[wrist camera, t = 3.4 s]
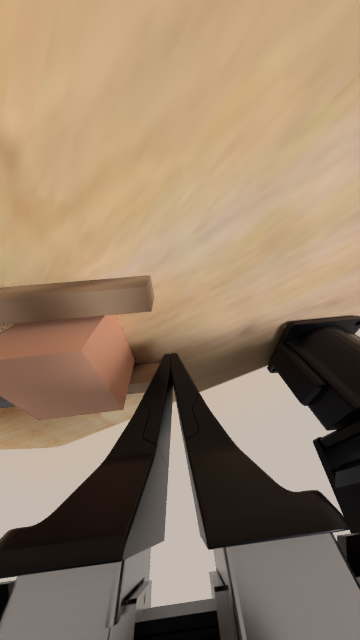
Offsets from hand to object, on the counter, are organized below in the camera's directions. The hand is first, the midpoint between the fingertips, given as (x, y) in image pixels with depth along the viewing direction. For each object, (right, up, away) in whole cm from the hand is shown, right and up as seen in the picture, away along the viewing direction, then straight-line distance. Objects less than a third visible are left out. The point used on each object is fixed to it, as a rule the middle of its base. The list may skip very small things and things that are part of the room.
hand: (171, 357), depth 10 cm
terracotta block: (-7, +1, +2) cm, 7 cm away
